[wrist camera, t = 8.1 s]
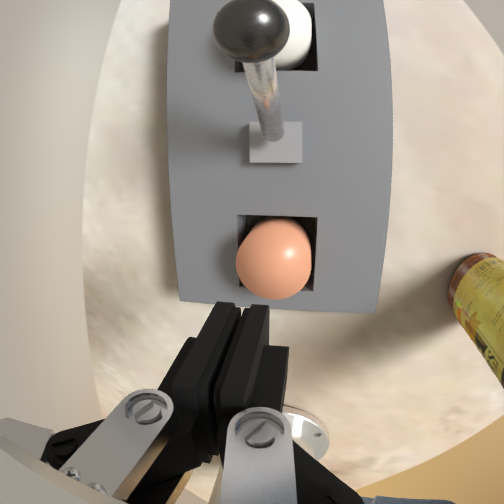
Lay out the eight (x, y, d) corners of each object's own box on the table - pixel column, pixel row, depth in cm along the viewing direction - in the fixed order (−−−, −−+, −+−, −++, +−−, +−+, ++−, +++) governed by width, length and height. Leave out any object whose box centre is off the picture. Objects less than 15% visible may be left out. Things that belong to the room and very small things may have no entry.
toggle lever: (298, 158, 16) (286, 21, 7) (248, 157, 16) (195, 29, 7) (298, 117, 16) (286, -20, 7) (252, 117, 16) (209, -13, 7)
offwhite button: (312, 72, 17) (313, 57, 14) (244, 73, 18) (231, 59, 14) (309, 15, 15) (309, -8, 12) (243, 17, 16) (231, -4, 13)
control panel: (368, 293, 23) (377, 319, 19) (193, 283, 25) (175, 306, 22) (373, 8, 15) (383, -14, 12) (185, 13, 18) (165, -5, 14)
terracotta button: (309, 278, 22) (308, 301, 18) (247, 274, 22) (236, 297, 19) (312, 216, 20) (313, 230, 17) (246, 214, 21) (234, 227, 18)
